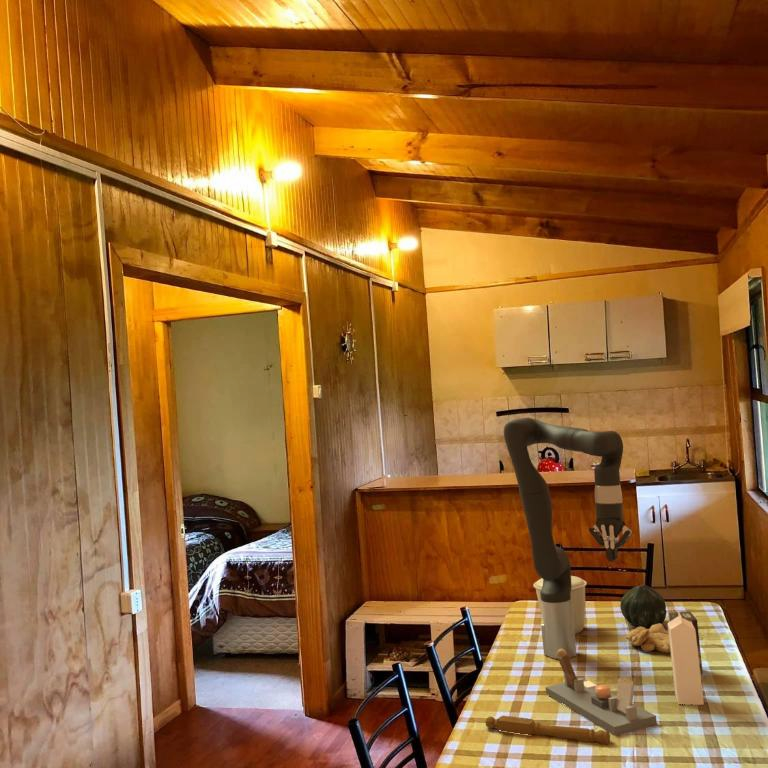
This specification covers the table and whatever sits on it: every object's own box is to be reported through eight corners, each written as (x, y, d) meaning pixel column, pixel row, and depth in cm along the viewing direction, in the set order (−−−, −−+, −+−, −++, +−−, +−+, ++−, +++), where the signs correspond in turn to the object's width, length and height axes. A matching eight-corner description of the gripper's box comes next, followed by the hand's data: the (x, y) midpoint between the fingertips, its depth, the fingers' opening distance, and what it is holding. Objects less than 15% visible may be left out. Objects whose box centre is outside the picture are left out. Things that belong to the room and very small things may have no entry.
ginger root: (626, 634, 239) (629, 611, 238) (677, 649, 232) (681, 624, 232) (619, 652, 225) (622, 627, 224) (673, 667, 218) (677, 642, 218)
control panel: (583, 685, 203) (581, 666, 204) (656, 724, 175) (654, 702, 175) (546, 694, 199) (544, 675, 199) (615, 735, 171) (612, 714, 171)
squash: (638, 599, 264) (621, 574, 258) (678, 606, 253) (662, 580, 246) (625, 633, 257) (607, 608, 250) (666, 642, 246) (649, 616, 239)
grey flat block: (618, 707, 180) (621, 678, 181) (631, 714, 175) (634, 684, 176) (615, 707, 180) (618, 678, 181) (628, 714, 175) (631, 684, 176)
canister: (550, 621, 266) (544, 563, 267) (599, 626, 255) (592, 565, 256) (529, 636, 251) (523, 574, 252) (580, 641, 240) (573, 577, 241)
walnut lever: (574, 681, 198) (560, 645, 198) (581, 684, 196) (566, 648, 195) (567, 685, 198) (552, 650, 197) (573, 689, 195) (559, 653, 194)
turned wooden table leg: (606, 733, 167) (483, 718, 181) (608, 747, 166) (484, 731, 181) (609, 728, 169) (487, 713, 184) (610, 741, 169) (488, 726, 183)
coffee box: (704, 679, 199) (697, 619, 200) (679, 680, 201) (673, 620, 201) (697, 667, 208) (690, 610, 209) (673, 668, 210) (667, 611, 210)
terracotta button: (605, 691, 187) (604, 683, 187) (613, 696, 183) (612, 688, 184) (593, 694, 186) (592, 686, 186) (601, 699, 182) (600, 691, 182)
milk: (678, 705, 185) (668, 617, 186) (675, 695, 191) (665, 610, 192) (704, 705, 183) (693, 616, 184) (700, 695, 189) (690, 609, 190)
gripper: (581, 501, 212) (584, 561, 211) (625, 503, 203) (629, 566, 202) (592, 498, 217) (596, 556, 217) (636, 500, 209) (640, 561, 208)
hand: (612, 561), depth 209 cm, fingers closed
